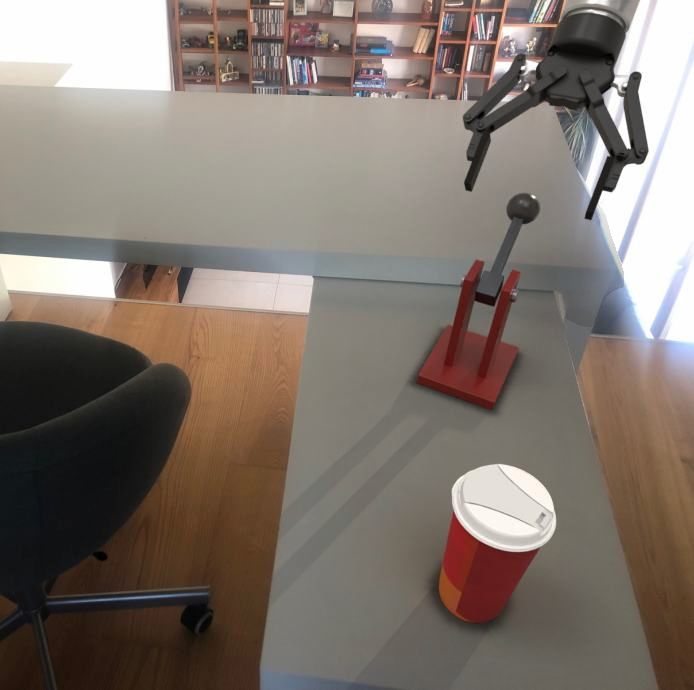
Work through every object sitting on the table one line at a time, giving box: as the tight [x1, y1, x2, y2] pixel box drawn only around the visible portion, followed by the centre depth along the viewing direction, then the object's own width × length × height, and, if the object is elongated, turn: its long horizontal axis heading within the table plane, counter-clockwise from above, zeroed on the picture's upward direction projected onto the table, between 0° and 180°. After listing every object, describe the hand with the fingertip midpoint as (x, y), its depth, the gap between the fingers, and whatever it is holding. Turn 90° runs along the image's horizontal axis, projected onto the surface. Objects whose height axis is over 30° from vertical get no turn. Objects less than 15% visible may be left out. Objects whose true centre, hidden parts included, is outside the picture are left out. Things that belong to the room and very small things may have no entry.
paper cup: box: [438, 463, 557, 624], centre depth 57 cm, size 8×8×14 cm
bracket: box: [416, 259, 522, 411], centre depth 80 cm, size 11×9×14 cm
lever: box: [474, 192, 541, 308], centre depth 78 cm, size 14×4×4 cm, turn 148°
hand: (526, 201), depth 80 cm, fingers open, 13 cm apart
